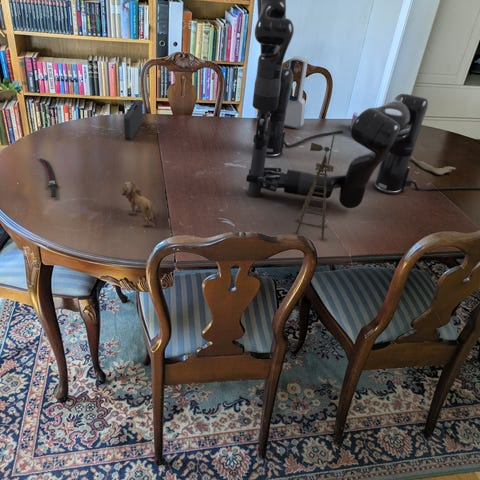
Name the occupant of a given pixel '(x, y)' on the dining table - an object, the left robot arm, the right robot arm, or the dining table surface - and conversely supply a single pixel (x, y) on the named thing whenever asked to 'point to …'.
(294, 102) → the electronic device
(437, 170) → the jawbone
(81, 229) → the dining table surface
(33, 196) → the dining table surface
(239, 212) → the dining table surface
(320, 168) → the miniature windmill
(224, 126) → the dining table surface
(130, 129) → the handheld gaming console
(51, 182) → the sword
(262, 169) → the dark grey cylinder
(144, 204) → the lion figurine
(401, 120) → the right robot arm
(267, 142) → the lid
